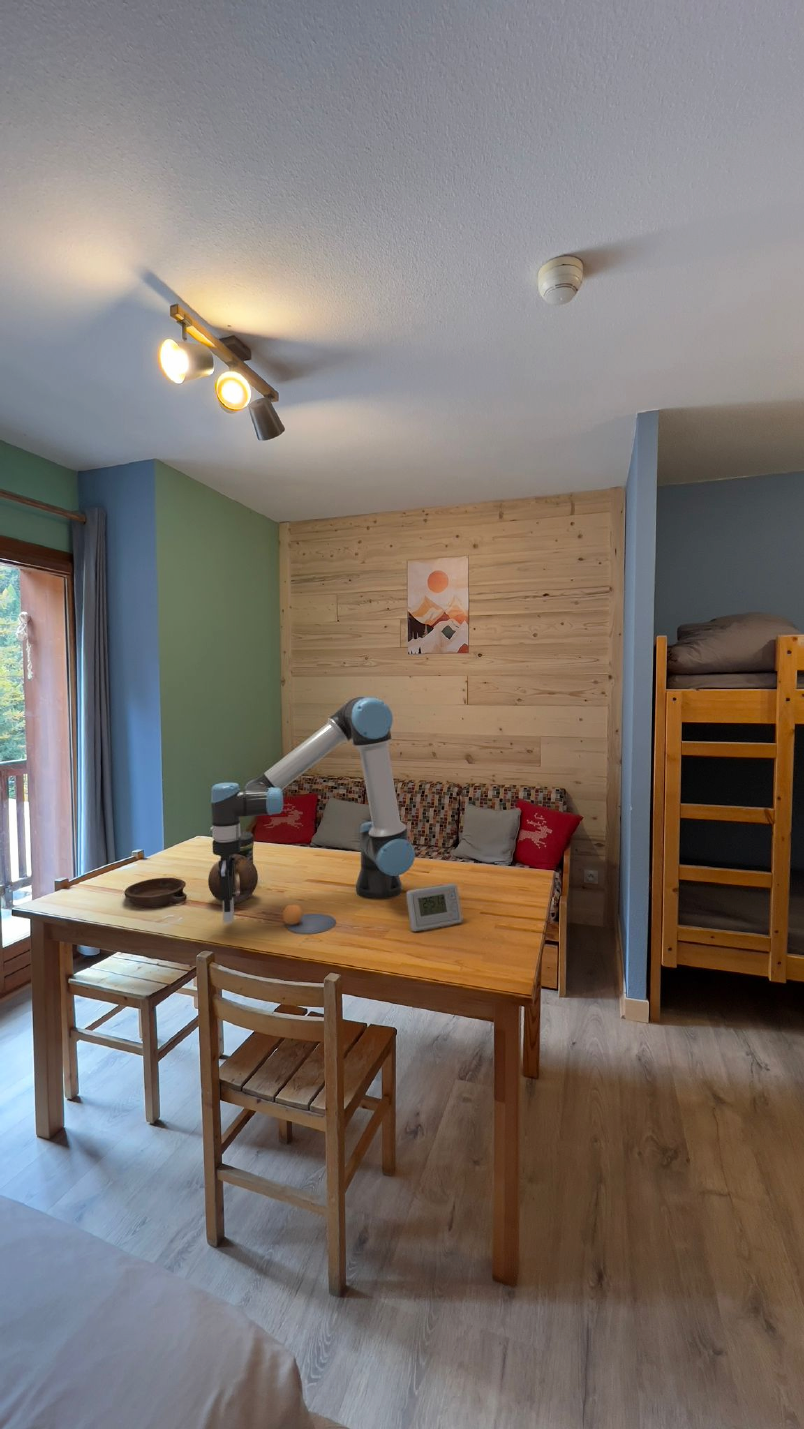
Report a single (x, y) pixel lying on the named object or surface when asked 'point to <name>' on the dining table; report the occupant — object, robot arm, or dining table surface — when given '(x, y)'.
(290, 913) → the ball
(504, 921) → the dining table surface
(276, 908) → the dining table surface
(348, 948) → the dining table surface
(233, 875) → the robot arm
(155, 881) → the dish
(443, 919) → the digital clock
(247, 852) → the coffee jar
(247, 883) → the wooden sphere
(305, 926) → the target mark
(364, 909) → the dining table surface
